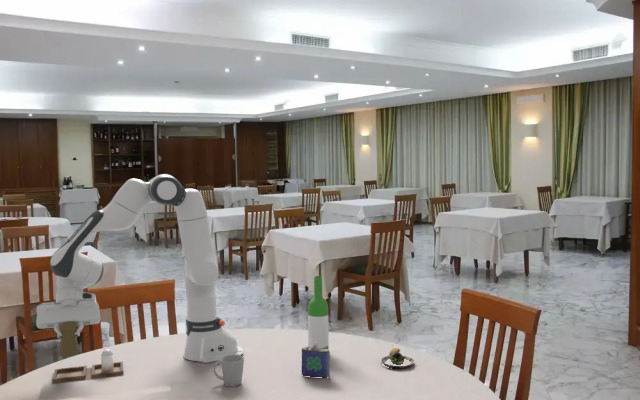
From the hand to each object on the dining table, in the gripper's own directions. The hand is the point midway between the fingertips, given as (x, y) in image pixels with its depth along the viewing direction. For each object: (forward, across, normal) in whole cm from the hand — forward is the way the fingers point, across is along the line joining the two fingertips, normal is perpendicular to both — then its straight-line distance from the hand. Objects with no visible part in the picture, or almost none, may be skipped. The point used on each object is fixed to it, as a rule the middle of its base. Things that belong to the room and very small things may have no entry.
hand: (68, 336), depth 198 cm
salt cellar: (+9, +12, +10) cm, 18 cm away
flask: (+29, +79, -8) cm, 84 cm away
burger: (+28, +111, -7) cm, 115 cm away
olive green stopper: (+4, 0, +5) cm, 6 cm away
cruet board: (+10, +6, +11) cm, 16 cm away
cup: (+26, +50, -4) cm, 57 cm away
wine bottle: (+13, +88, +8) cm, 89 cm away
